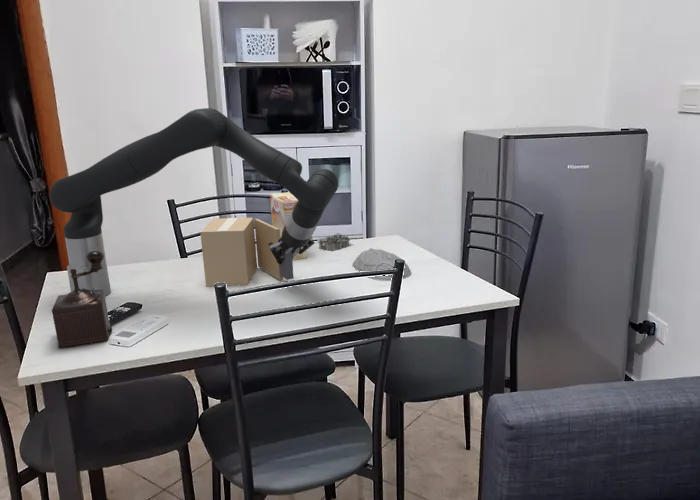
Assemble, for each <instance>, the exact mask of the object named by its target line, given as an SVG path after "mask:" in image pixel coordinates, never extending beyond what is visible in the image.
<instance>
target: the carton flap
mask: <svg viewBox="0 0 700 500" xmlns="http://www.w3.org/2000/svg"><path fill="white" fill-rule="evenodd" d="M253 220H254V233H255V245H256V258H257V268H259V269H261V270H263V271H265V272H266V273H268V274H269V275H270V276H272V277H274V278H276V279H278V280H279V281H282V280H283V281H284V279H285V280H286V281H287V280H292V279H295V278H294V277H295V276H294V264H293V263H294V262H293V261H294V260H292V250H291V251H290V252H289V254H288V255H286V256H285V257H284V260H283V262H282V264H279V263H277V260H276V258H275V257H274V255H273V254H272V252H271V250H270V247H269V245H268V244H269V243H270V242H272V243H273V244H274V243H277V242H278V240H279V239H280V229H279V228H277V227H274V226H272V224H269V223H267V222H266V221H263V220H261V219H259V218H253ZM279 248H280V246H279V247H278V249H277V250H279Z"/></svg>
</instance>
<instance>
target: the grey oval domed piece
mask: <svg viewBox="0 0 700 500" xmlns="http://www.w3.org/2000/svg"><path fill="white" fill-rule="evenodd" d="M396 259H402V258H401V257H400V256H398V255H396V254H395V253H393V252H388V251H386V250H383V249H381V248H380V249H379V248H378V249H377V248H376V249H374V248H372V247H371V248H368V250H364V251H362V252H360V254H359V255H357V256H356V258H355V259H354V261H353V262H352V268H353V267H354V268H355V269H354V268H353V269H354V270H355V271H357V270H358V271H359V272H360V271H378V270H391V269H394V268H393V267H394V261H395V260H396ZM358 271H357V272H358ZM359 272H358V273H359ZM391 275H392V274H390V275H388V276H375V277H369V278H370V279H372V280H375V281H380V282H392V281H391V278H392V276H391ZM411 275H412V271H411V269H410V267H409V265H408V264H407V263H406V262H405V268H404V275H403V279H402V280H404V279H407V278H409V277H410V276H411Z"/></svg>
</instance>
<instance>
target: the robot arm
mask: <svg viewBox="0 0 700 500" xmlns="http://www.w3.org/2000/svg"><path fill="white" fill-rule="evenodd" d="M211 147H218V148H222V149H224V150H227V151H229V152H231V153H233V154H235V155H236V156H238V157H239V158H241V159H243V160H244V161H245V163H247V164H248V165H250V167H252V168H253V169H254V170H255V171H257V173H259V174H260V175H262V176H263V177H265V178H267V179H269V180H270V181H273V182H274V183H276V184H278V185H279V186H282V187H283V188H285V189H286V190H287V192H290V193H291V194H292V195H293V196H294V197H295V198H296V199H297V200H298V202H297V204H296V206H295V208H294V210H293V212H292V213H291V214H290V216H289V218H288V220H287V222H286V224H285V226H284V229H283V231H282V237H281V238H280V239H279V240H278V242H277V243H274V244H273V243H272V242H270V243H269V244H268V245H269V247H270V250H271V252H272V254H273V255H274V257H275V258H276V260H277V263H279V264H282V262H283V260H284V257H285V256H286V255H288V254H289V252H290V251H291V250H292V259H293V258H294V256H296V255H297V253H299V254H302V253H303V252H304V251H306V252H307V250H308V249H309V248H311V247H312V246H313V245H314V244H315V240H314V239H313V237H312V236H313V235H314V232H315V231H316V229H317V226H318V223H319V222H320V220H321V218H322V215H323V213H324V211H325V209H326V207H327V206H328V205H329V203H330V202H331V200H332V199H333V197H334V195H335V194H336V193H337V191H338V187H339V179H338V177H337V175H336V173H334V172H333V171H332V170H330V169H327V168H320V169H317V170H315V171H314V172H313V173H312V174H311V176H310V177H309V178H308V180H305V179H304V178H303V177H302V176H301V175H302V173H303V172H302V171H303V165H302V163H301V162H300V161H299V160H297V159H295V158H293V157H291V156H290V155H288V154H286V153H284V152H282V151H280V150H278V149H277V148H274V147H273V146H270V145H269V144H267V143H265V142H263V140H260V139H258V138H257V137H255V136H254V135H252V134H250V133H249V132H248V131H246V130H245V129H243V128H241V127H240V126H239V125H238V124H237V123H236V122H234V121H232V120H231V119H230V118H229V117H227V116H226V115H225V114H223V113H222V112H221V111H219V110H217V109H215V108H212V107H211V108H210V107H208V108H207V107H205V108H204V107H203V108H198V109H197V108H196V109H193V110H190V111H189V112H186V113H185V114H183V115H182V116H181V117H180V118H178V119H177V120H175V121H174V122H172V123H170V124H169V125H168V126H166V127H165V128H163V129H161V130H160V131H157V132H156V133H152V134H150V135H146V136H145V137H142V138H140V139H138V140H135V141H133V142H130V143H129V144H127V145H125V146H123V147H121V148H119V149H118V150H116V151H115V152H113V153H111V154H109V155H107V156H106V157H104V158H102V159H100V160H99V161H98V162H95V163H94V164H93V165H91V166H89V167H88V168H86V169H84V170H81V171H79V172H77V173H73V174H71V175H68V176H66V177H63V178H62V177H61V178H59V179H58V180H56V181H55V182H54V183H53V184H52V185H51V188H50V190H49V201H50V203H51V205H52V206H53V207H54V208H55V209H56V210H58V211H60V212H62V213H63V212H64V213H70V214H71V215H70V218H69V220H68V221H67V223H66V224H65V225H64V226H63V234H64V235H63V236H64V241H65V247H66V252H67V258H68V259H67V260H68V265H67V266H66V270H67V276H68V281H69V282H68V283H69V287H70V292H72V291H74V289H75V288H74V282H73V278H71V273H70V270H71V269H76V274H78V273H82V272H87V271H90V268H91V264H90V262H89V261H88V260H87V259H86V256H87V254H88V253H89V252H91V251H100V252H102V253H103V255H104V259H103V260H102V262H101V266H102V267H103V269H100V270H99V271H97V273H96V272H93V273H90V274H88V275H85V276H81V277H78V278H77V281H78V285H79V288H80V289H83V288H85V289H88V290H93V288H94V290H100V289H104V294H105V297H106V296H109V295H110V294H111V293H112V290H111V283H110V276H109V271H108V263H107V257H106V252H105V246H104V238H103V237H104V236H103V231H102V225H103V221H104V215H103V204H102V195H105V194H107V193H111V192H114V191H115V192H116V191H119V190H122V189H125V188H127V187H130V186H134V185H135V184H138V183H140V182H142V181H144V180H146V179H148V178H150V177H152V176H154V175H155V174H157V173H158V172H160V171H161V170H163V169H164V168H165V167H167V165H168V164H170V163H171V162H172V161H173V160H175V159H178V158H180V157H182V156H184V155H187V154H189V153H190V154H191V153H193V152H195V151H199V150H204V149H207V148H211ZM279 246H280V248H279V250H277V249H278V247H279ZM302 247H303V248H302ZM301 248H302V249H301Z"/></svg>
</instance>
